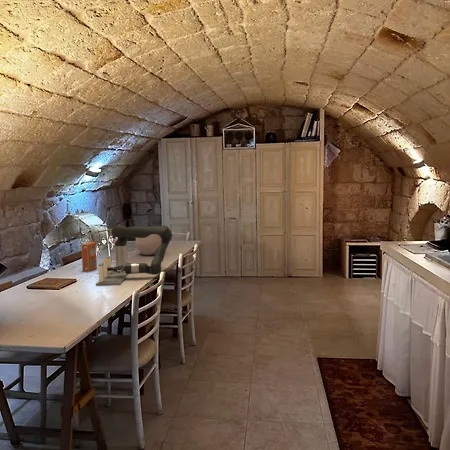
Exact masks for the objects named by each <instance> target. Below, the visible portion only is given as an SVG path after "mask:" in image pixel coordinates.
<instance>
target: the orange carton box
mask: <svg viewBox="0 0 450 450" xmlns="http://www.w3.org/2000/svg"><path fill="white" fill-rule="evenodd" d="M96 243H97V242H96V241H88V242H85V243H81V246H80V247H81V248H80V249H81V264H82V266H81V267H82V272H83V273H89V272H93V271H94V270H95V271H96V270H98V263H97V260H98V259H97V246H96Z"/></svg>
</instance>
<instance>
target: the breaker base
mask: <svg viewBox="0 0 450 450" xmlns="http://www.w3.org/2000/svg"><path fill="white" fill-rule="evenodd" d="M105 260H108V267H112V256H111V255H110V256H109V255H108V256H106V257H105ZM97 271H98V280H97V282H95V286H97V287H98V286H99V287H101V286H121V285H122V283H123V281H125V279H126V278H127V276H128V274H126V273H125V271H123V272H113V271H109V276H108V277H107V278H104V263H103V262H102V263H101V262H99V263H98V264H97Z"/></svg>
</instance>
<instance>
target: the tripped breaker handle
mask: <svg viewBox="0 0 450 450" xmlns="http://www.w3.org/2000/svg"><path fill="white" fill-rule="evenodd" d="M102 263H104V278H107V277H108V276H109V271H107V268H108V260H106V259H104V260H102Z"/></svg>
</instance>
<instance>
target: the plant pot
mask: <svg viewBox="0 0 450 450" xmlns="http://www.w3.org/2000/svg"><path fill="white" fill-rule="evenodd" d="M147 226H151V224H149V223H147ZM160 245H161V238H160V236H159V235H157V234H151V235H150V236H148V237H146V238H135V247H136V249H137V250H138V252H139V253H141V254H142V255H145V256H152V254H153V255H155V251H156V249H157V248H158V247H159V246H160Z"/></svg>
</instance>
